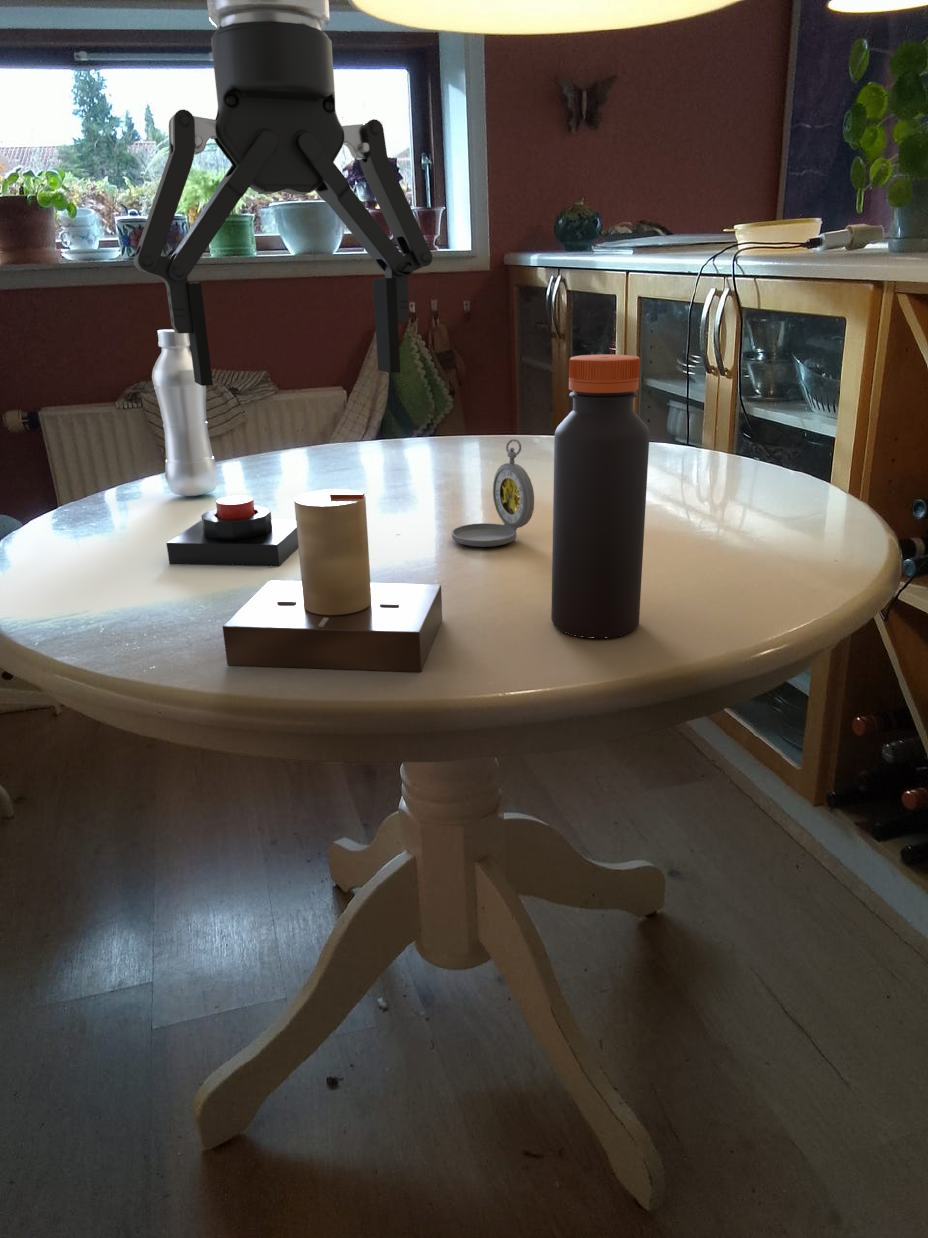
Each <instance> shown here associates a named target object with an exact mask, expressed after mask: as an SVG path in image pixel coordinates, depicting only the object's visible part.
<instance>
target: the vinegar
mask: <svg viewBox="0 0 928 1238" xmlns="http://www.w3.org/2000/svg"><path fill="white" fill-rule="evenodd" d="M640 372H641V358H640V357H639V356H636V355H630V354H610V353H609V354H607V353H606V354H581V355H574V356H571V357H570V358H569V359H568V390H570V393H569V394H568V396H569V397H570V398H572V410H571V411H570V412H569V413H568V415H567V416H566V417H565V418H564V419H563V420H562V421H561V422H560V424H558V425H557V427H556V429H555V431H554V442H553V443H554V444H553V447H554V448H553V501H552V502H553V503H552V504H553V505H552V512H553V513H552V552H551V553H552V556H551V609H550V610H551V612H550V613H551V614H550V615H551V616H550V617H551V618H550V619H551V622H552V624H553V625H554V627H555V628H556V627H557V628H556V629H557V630H559V629H560V630H559V631H561V632H562V631H563V632H562V633H564V632H567V633H569V634H568V635H570V634H572V635H571V636H573V635H576V636H575V637H577V636H583V637H594V638H605V637H615V638H617V637H616V636H619V637H621V636H620V635H624V636H626V635H628V634H630V633H632V632H634V631H635V630H636V629H637V628H638V627H639V624H640V612H641V611H640V610H641V597H642V596H641V595H642V593H641V592H642V578H643V577H642V576H643V559H644V558H643V557H644V542H645V541H644V539H645V523H646V521H645V520H646V505H647V487H648V471H649V469H648V468H649V452H650V429H649V427H648V426H647V424H646V423H645V422H644V421H643V420H642V418H641V417H640V416H639V415H638V414H637V413H636V411H635V410H634V398H637V397H638V392H636V391H638V390H639V387H640V376H641V375H640V374H641V373H640ZM629 632H630V633H629ZM567 633H566V634H567ZM627 633H628V634H627ZM625 634H626V635H625ZM605 639H606V638H605Z"/></svg>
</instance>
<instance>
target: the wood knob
mask: <svg viewBox="0 0 928 1238" xmlns="http://www.w3.org/2000/svg"><path fill="white" fill-rule="evenodd" d="M293 502H294V514H295V520H296V525H297V537H298V557H299V558H298V559H299V569H300V581H302V592H303V603H304V608H305V609H306V610H307V611H309V612H311V613H315V614H320V615H344V614H350V613H355V612H358V611H361V610H363V609H365V608H367V607H368V606H370V604H371V602H372V597H371V583H372V582H371V567H370V566H371V565H370V551H369V533H368V517H367V516H368V515H367V514H368V513H367V500H366V494H365V493H364V492H360V491H358V490H350V489H322V490H314V491H309V492H305V493H302V494H299V495H297V496H295V498H294V500H293Z"/></svg>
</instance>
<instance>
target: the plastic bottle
mask: <svg viewBox="0 0 928 1238" xmlns="http://www.w3.org/2000/svg"><path fill="white" fill-rule="evenodd" d="M157 337H158V342H157V343H158V344H157V345H158V347H159V348H161V353H160V354H159V356H158V358H157V359H156V361H155V363H154V365H153V368H152V373H151V380H152V385H153V388H154V392H155V396H156V399H157V404H158V406H159V410H160V416H161V420H162V422H163V423H162V426H163V432H164V445H165V446H164V447H165V463H164V477H165V481H166V484H167V487H168V489H169V490H170V491H171V492H172V494H174V495H177V496H184V497H198V496H202V495H206V494H209V493H213V492H214V491H215V490H216V488H217V486H218V485H219V484H218V483H219V470H218V466H217V462H216V459H215V457H214V456H213V455H214V454H213V449H212V445H211V439H210V434H209V430H208V429H209V428H208V421H207V418H208V417H207V415H208V414H207V386H201V385H199V384H197V383H196V382H195V379H194V371H193V363H192V356H191V348H190V340H189V333H180V334H179V333H176V332H175V331H174V329H173V328H170V329H159V330H157Z"/></svg>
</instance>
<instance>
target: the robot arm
mask: <svg viewBox="0 0 928 1238" xmlns="http://www.w3.org/2000/svg"><path fill="white" fill-rule="evenodd" d="M329 3H330V1H329V0H206V4H207V5H206V7H207V14H208V15H207V16H208V20H209V21H210V22H211V24H212V25H214V27H216V28H218V29H216V30H215V31H214V32H213V35H212V36H211V38H210V43H211V52H212V53H211V54H212V62H213V72H214V81H215V91H216V101H217V110H216V116H215V119H214V118H213V119H212V118H207V117H203V116H202V117H201V116H196V115H193V114H192V112H191V111H189V110H187V109H179V110H177V111H176V112H175V114H173V115H172V116H171V117H170V119H169V122H168V157H167V160H166V162H165V165H164V169H163V171H162V174H161V177H160V180H159V183H158V186H157V189H156V191H155V195H154V198H153V200H152V203H151V207H150V210H149V212H148V215H147V218H146V221H145V224H144V227H143V230H142V233H141V236H140V239H139V242H138V245H137V248H136V251H135V254H134V257H133V265H134V267H135V268H136V269H137V270H138V271H139V272H142V273H143V272H144V273H146V274H148V275H152V276H155V277H157V278H160V279H161V281H163V282H164V284H165V287H166V295H167V301H168V308H169V317H170V323H171V324H170V325H171V326H172V329H174V331H175V332H176V333H179V334H180V333H189V340H190V346H189V349H190V351H191V356H192V363H193V371H194V379H195V382H196V383H197V384H199V385H201V386H206V387H207V386H213V385H214V382H213V372H212V365H211V364H212V363H211V356H210V348H209V338H208V330H207V322H206V314H205V306H204V297H203V289H202V282H199V281H197V282H195V281H194V282H189V280H188V279H189V278H188V276H189V275H190V274H191V272H192V271H193V269H194V268H195V267H196V265H197V263H198V262H199V261H200V259H201V257H202V256H203V254H204V253H205V252H206V250H207V248H208V247H209V246H210V244H211V243H212V241H213V240H214V238H215V237H216V235H217V233H218V232H219V231H220V230H221V228H222V227H223V225H224V223H225V222H226V221H227V219H228V218H229V216H230V214H231V213H232V211H234V208H235V207H236V206H237V204H238V202H239V201H240V200H241V199H242V197H243V196H244V195H245V194H246V193H247V191H248V190H249V189H251V190H252V191H254V192H256V193H257V194H258V195H272V194H275V193H279V192H282V193H285V194H288V195H292V196H304V195H307V194H311V193H312V192H315V193H316V194H317V195H318V197H320V199H321V200H323V202H325V203H326V204H328V206H329V207H330V208H331V209H332V211H333V212H334V213H335V214H336V215H337V217H338V219H340V220H341V222H342V223H343V225H344V226H345V227H346V228H347V229H348V231H349V232H350V233H351V235H353V237H354V238H355V239H356V241H357V242H358V243H359V245H360V246H361V247H362V248H363V249H364V251H365V252H366V253H367V254H368V255H369V256H370V258H371V259H372V261H374V263H375V264H376V266H377V267H378V268H379V269H380V270H381V272H382V273H383V274H384V277H374V278H372V284H373V303H374V304H373V305H374V319H375V321H374V322H375V339H376V357H377V359H376V360H377V370H378V371H381V372H385V373H389V374H395V373H396V374H397V373H401V359H400V357H401V356H400V355H401V354H400V337H399V325H401V324H408V321H409V318H410V308H409V307H410V303H409V302H410V301H409V277H410V276H412V274H413V273H414V272H415V271H417V270H419V269H422V268H424V267H429V266H430V265H431V264H432V261H433V252H432V251H431V249H430V247H429V244H428V242H427V240H426V238H425V236H424V233H423V231H422V229H421V226H420V224H419V223H418V220H417V219H416V216H415V213H414V212H413V210H412V206H411V205H410V203H409V201H408V199H407V197H406V194H405V192H404V189H403V188H402V186H401V183H400V181H399V179H398V177H397V174H396V172H395V170H394V168H393V166H392V163H391V161H390V159H389V157H388V151H387V145H386V138H385V137H386V136H385V130H384V127H383V126H384V125H383V124H382V123H381V121H380V120H378V119H374V118H373V119H370V120H368V121H366V122H363V123H359V124H350V125H342V124H341V122H340V120H339V117H338V115H337V111H336V90H335V77H334V76H335V74H334V60H333V59H334V58H333V57H334V56H333V45H332V44H333V42H332V40H331V39H330V38H329V36H328V35H327V33H326V32H324V31H323V30H325V28H327V26H328V25H329V24H330V22H331V19H330V4H329ZM209 140H214V142H215V144H216V145H217V147H218V148H219V149H220V151H221V152H222V153H223V155H224V156H225V158H226V159H227V160H228V162H229V163H230V165H231V166H230V167H229V169H228V170H227V171H226V173H225V174H224V176H223V178H222V179H221V181H220V182H219V184H218V185H217V187H216V189H215V191H214V192H213V194H212V195H211V197H210V198H209V199H208V201H207V203H206V204H205V205H204V207H203V209H202V210H201V211H200V213H199V215H198V216H197V218H196V219H195V221H194V222H193V224H192V225H191V227H190V228H189V229H188V231H187V232H186V233H185V235H184V237H183V238H182V240H181V241H180V243H179V244H178V246H177V247H176V249H175V250H174V252H173V253H172V255H171V256H170V258H168V257H165V256H163V255H162V253H163V251H164V248H165V244H166V242H167V238H168V236H169V233H170V231H171V227H172V224H173V221H174V219H175V216H176V213H177V210H178V207H179V205H180V201H181V199H182V196H183V193H184V189H185V186H186V184H187V180H188V178H189V176H190V173H191V169H192V166H193V162H194V158H195V156H196V155H200V154H201V153H202V152H203V151H205V149H206V146H207V142H208V141H209ZM343 146H345V147H347V148H348V150H349V152H350V155H351V157H352V158H354V160H357V161H359V165H360V169H361V171H362V173H363V176H364V178H365V179H366V182H367V184H368V186H369V189H370V190H371V193H372V195H373V196H374V199H375V201H376V203H377V205H378V208H379V209H380V211H381V214H382V216H383V218H384V220H385V222H386V224H387V227H388V228H389V230H390V233H391V235H392V237H393V239H394V241H395V243H396V245H395V243H394V241H392V239H391V238H390V237H389V235H388V234H387V233H386V232H385V231H384V228H382V227H381V225H380V224H379V222H378V221H377V220H376V219H375V218H374V216H373V215H372V214H371V212H370V211H369V210H368V208H367V207H366V206H365V204H363V202H362V201H361V200H360V198H359V197H358V196H357V195H356V193H355V192H354V190H353V189H352V187H351V184H350V182H349V181H348V179H347V178H346V176H345V175H344V173H342V172H341V170H340V168H338V166H337V165H336V164H335V161H336V159H337V157H338V155H339V153H340V151H341V150H342V148H343Z"/></svg>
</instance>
